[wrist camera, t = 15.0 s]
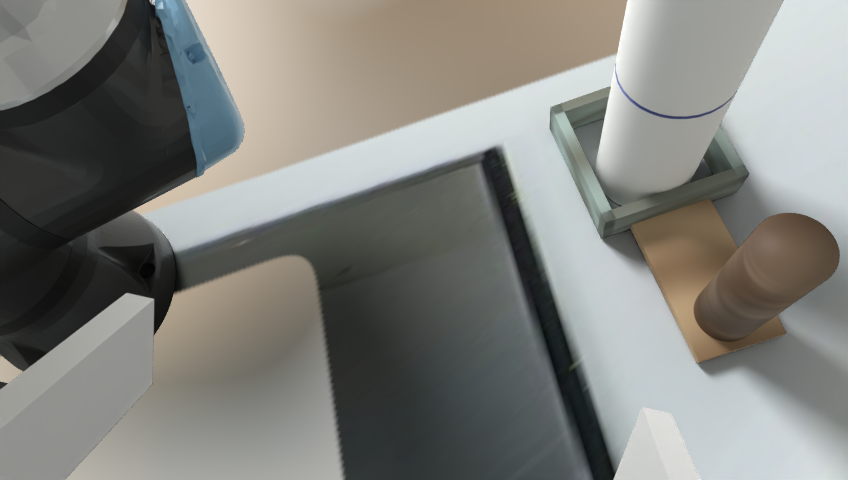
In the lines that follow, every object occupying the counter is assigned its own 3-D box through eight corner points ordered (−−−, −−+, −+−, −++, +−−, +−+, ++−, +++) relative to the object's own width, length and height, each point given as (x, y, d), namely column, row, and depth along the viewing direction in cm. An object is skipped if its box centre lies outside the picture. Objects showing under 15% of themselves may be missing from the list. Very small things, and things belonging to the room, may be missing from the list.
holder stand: (814, 324, 40) (929, 258, 29) (664, 374, 41) (717, 329, 29) (672, 85, 49) (715, -40, 37) (549, 128, 50) (554, 17, 38)
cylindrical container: (583, 195, 47) (631, -79, 24) (610, 121, 49) (677, -196, 26) (677, 222, 45) (825, -50, 22) (701, 144, 47) (859, -179, 24)
